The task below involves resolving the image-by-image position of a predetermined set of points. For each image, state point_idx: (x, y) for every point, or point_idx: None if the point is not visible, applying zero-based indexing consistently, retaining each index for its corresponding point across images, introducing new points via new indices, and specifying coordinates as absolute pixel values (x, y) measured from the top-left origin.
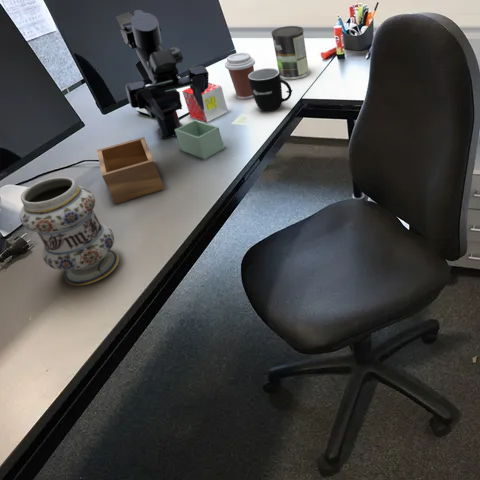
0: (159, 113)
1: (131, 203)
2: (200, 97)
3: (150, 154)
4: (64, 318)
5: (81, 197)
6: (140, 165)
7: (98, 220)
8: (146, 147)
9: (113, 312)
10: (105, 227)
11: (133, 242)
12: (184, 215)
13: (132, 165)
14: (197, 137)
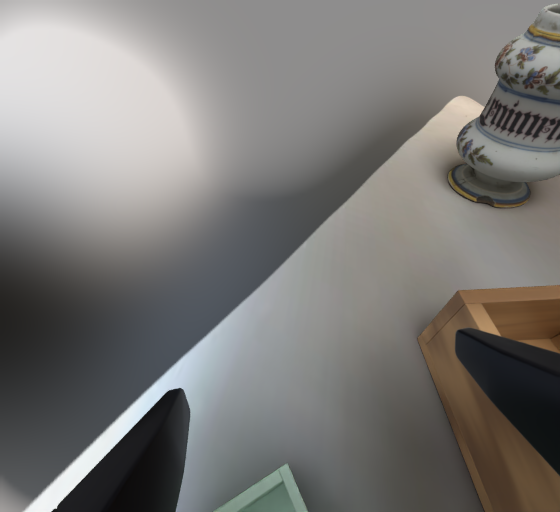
0: (517, 341)
1: None
2: (118, 457)
3: None
4: None
5: (520, 38)
6: (501, 289)
7: (491, 120)
8: None
9: (426, 137)
10: (478, 136)
11: (439, 206)
12: (359, 230)
13: (534, 295)
14: (287, 473)
